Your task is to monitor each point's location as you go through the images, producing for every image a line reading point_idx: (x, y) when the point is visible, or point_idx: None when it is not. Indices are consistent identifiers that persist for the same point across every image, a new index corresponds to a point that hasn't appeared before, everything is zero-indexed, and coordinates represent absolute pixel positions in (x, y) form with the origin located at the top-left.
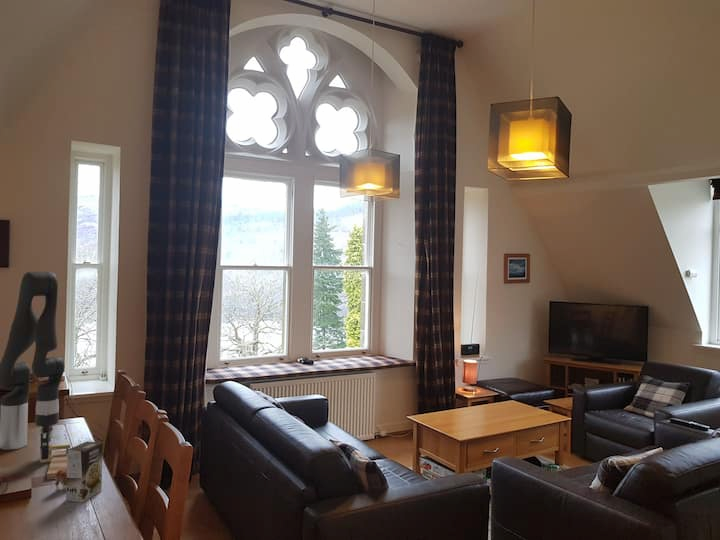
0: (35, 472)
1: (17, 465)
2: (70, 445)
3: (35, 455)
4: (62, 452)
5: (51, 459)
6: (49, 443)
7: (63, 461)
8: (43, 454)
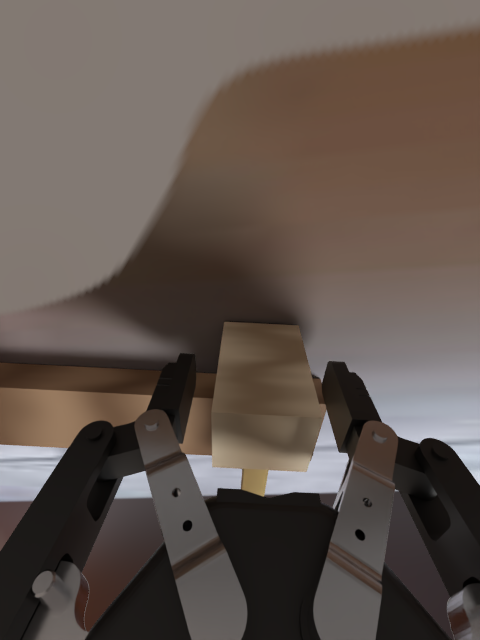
0: (53, 305)
1: (232, 174)
2: None
3: (422, 286)
4: None
5: None
6: (278, 459)
7: None
8: (157, 389)
